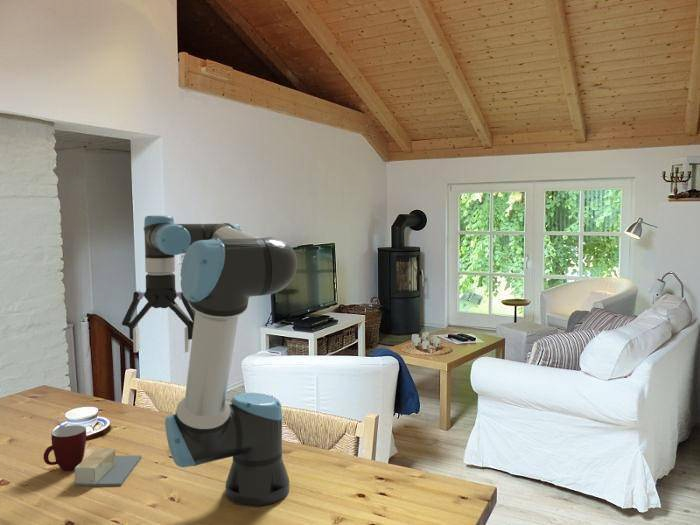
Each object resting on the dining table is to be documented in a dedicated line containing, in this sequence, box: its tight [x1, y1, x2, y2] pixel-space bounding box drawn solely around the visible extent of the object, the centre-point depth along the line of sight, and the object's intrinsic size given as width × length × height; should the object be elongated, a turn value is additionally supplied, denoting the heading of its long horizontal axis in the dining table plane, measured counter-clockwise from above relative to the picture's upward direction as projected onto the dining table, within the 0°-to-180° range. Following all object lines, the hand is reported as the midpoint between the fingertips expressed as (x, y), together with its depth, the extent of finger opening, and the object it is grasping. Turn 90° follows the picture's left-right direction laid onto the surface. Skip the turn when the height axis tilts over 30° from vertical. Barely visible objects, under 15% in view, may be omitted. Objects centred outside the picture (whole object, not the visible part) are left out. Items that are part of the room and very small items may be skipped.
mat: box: [74, 454, 142, 487], centre depth 149 cm, size 11×16×1 cm
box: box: [74, 448, 116, 485], centre depth 146 cm, size 5×4×11 cm
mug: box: [43, 424, 87, 472], centre depth 149 cm, size 10×8×10 cm
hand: (162, 351), depth 157 cm, fingers open, 13 cm apart
